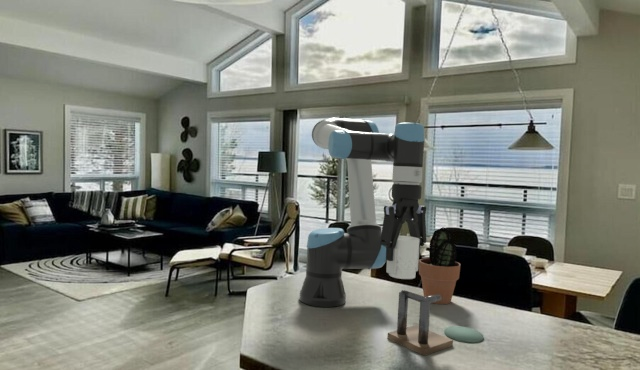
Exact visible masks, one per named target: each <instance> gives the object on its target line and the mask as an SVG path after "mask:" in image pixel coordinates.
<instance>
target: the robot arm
mask: <svg viewBox="0 0 640 370" xmlns="http://www.w3.org/2000/svg"><path fill="white" fill-rule="evenodd" d="M311 138H312V141H313V143H314V144H315V145H316V146H317V147H319V148H320V149H323V150H328V153H329V154H328V155H330V157H332V158H336V159H342V160H344V159H345V160H346V161H347V162H346V163H347V179H348V196H349V211H350V213H349V214H350V224H349V226H348V227H347V228H346V232H345V230H344V228H340V227H325V228H319V229H318V228H317V229H315V230H312V231H310V233H309V234H308V236H307V243H306V267H305V277H304V280H303V282H302V286H301V289H300V291H299V301H300V302H302V303H303V304H305V305H308V306H312V307H320V308H332V307H334V308H335V307H339V306H342V305H344V304H345V303H346V298H347V294H346V289H345V286H344V283H343V279H342V273H343V269H347V270H348V269H351V270H352V269H356V270H357V269H358V270H360V269H362V270H363V269H365V270H366V269H367V270H371V269H372V270H373V269H380V268H382V267H383V266H384V265H385V263H386V268H385V269H386V273H387V274H389V273H390V274H393V275H395V274H396V267H397V248H395V246H396V243H397V240H398V237H399V236H400V233H401V231H402V227H403V225H404V224H405V222H406V223H407V228H408V232H409V236H410V237H416V238H419V239H420V242H419V252H418V262H417V267H416V272H419V260H420V259H419V258H420V257H421V247H424V246H425V243H426V242H427V223H426V221H427V220H426V213H427V206H426V205H420V204H419V200H421V199H422V190H423V187H422V185H420V184H421V183H422V182H423V167H424V166H423V165H424V151H425V150H424V149H425V141H426V136H425V126H424V124H422V123H418V122H400V123H399V122H398V123H396V125H395V127H394V131H393V133H383V132H380V130H379V128H378V126H377V124H376V123H375V122H374V121H372V120H367V119H354V118H353V119H352V118H342V117H341V118H339V117H329V118H324V119H322V120H319V121H318V122H316V124H314V126H313V128H312V131H311ZM372 161H385V162H391V163H392V164H393V165H392V179H391V181H392V182H394V183H392V186H391V198H392V199H393V202H392V205H384V207H383V214H384V215H383V220H382V221H383V222H382V226H381V225H379V224H378V223H377V217H376V204H375V191H374V180H373V179H374V178H373V167H372V166H373V165H372ZM391 242H392V243H391Z"/></svg>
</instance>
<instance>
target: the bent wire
mask: <svg viewBox="0 0 640 370" xmlns="http://www.w3.org/2000/svg"><path fill="white" fill-rule="evenodd" d="M409 299H410V300H413V301H416V302H418V303H419V318H418V319H419V320H418V321H419V322H418V326H419V333H418V343H420V344H424V345H425V344H428V334H429V331H430V316H431V314H430V313H431V304H433V303H432V302H436V301H440V300H441V295H439V294H437V295H432V296H428V297H424V295H420V294H417V293H414V292H411V291H409V290H406V289H402V290H400V291H399V292H398V304H397V305H398V306H397V307H398V308H397V322H396V324H397V325H396V330H397V334H400V335H406V329H407V326H408V310H409V309H408V308H409Z"/></svg>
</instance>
